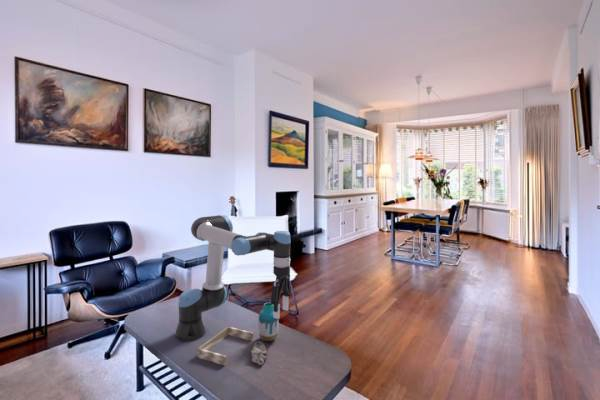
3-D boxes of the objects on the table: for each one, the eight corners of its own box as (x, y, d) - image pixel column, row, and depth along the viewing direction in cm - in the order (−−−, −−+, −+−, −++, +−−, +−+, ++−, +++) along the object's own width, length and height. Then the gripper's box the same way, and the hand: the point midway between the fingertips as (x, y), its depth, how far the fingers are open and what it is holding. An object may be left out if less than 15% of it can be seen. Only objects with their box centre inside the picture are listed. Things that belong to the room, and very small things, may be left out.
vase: (275, 345, 153) (275, 309, 152) (255, 343, 155) (255, 307, 154) (280, 335, 164) (281, 301, 162) (262, 333, 166) (262, 299, 164)
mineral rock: (264, 367, 136) (264, 358, 135) (247, 366, 136) (247, 356, 136) (270, 349, 150) (271, 341, 150) (255, 348, 151) (255, 339, 151)
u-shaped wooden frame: (196, 357, 142) (196, 348, 142) (227, 333, 165) (227, 326, 165) (225, 365, 136) (225, 357, 136) (253, 339, 159) (253, 332, 158)
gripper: (278, 273, 125) (277, 325, 126) (298, 260, 145) (297, 306, 146) (262, 270, 128) (262, 322, 129) (284, 258, 147) (283, 303, 149)
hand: (281, 313), depth 138 cm, fingers open, 9 cm apart
